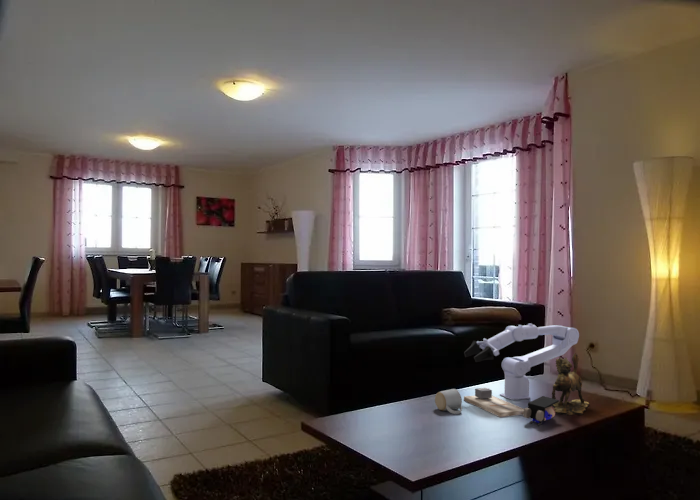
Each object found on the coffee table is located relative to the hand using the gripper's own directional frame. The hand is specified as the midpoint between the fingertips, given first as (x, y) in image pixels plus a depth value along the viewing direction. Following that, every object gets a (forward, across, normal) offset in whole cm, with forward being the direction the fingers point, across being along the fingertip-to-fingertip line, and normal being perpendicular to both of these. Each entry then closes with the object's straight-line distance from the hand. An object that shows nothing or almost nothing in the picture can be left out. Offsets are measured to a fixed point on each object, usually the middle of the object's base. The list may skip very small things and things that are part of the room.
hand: (469, 357), depth 207 cm
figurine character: (-3, +32, +18) cm, 37 cm away
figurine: (-24, +21, +28) cm, 42 cm away
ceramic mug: (+20, +13, +9) cm, 26 cm away
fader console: (+3, +13, +16) cm, 21 cm away
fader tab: (+3, +6, +15) cm, 16 cm away
